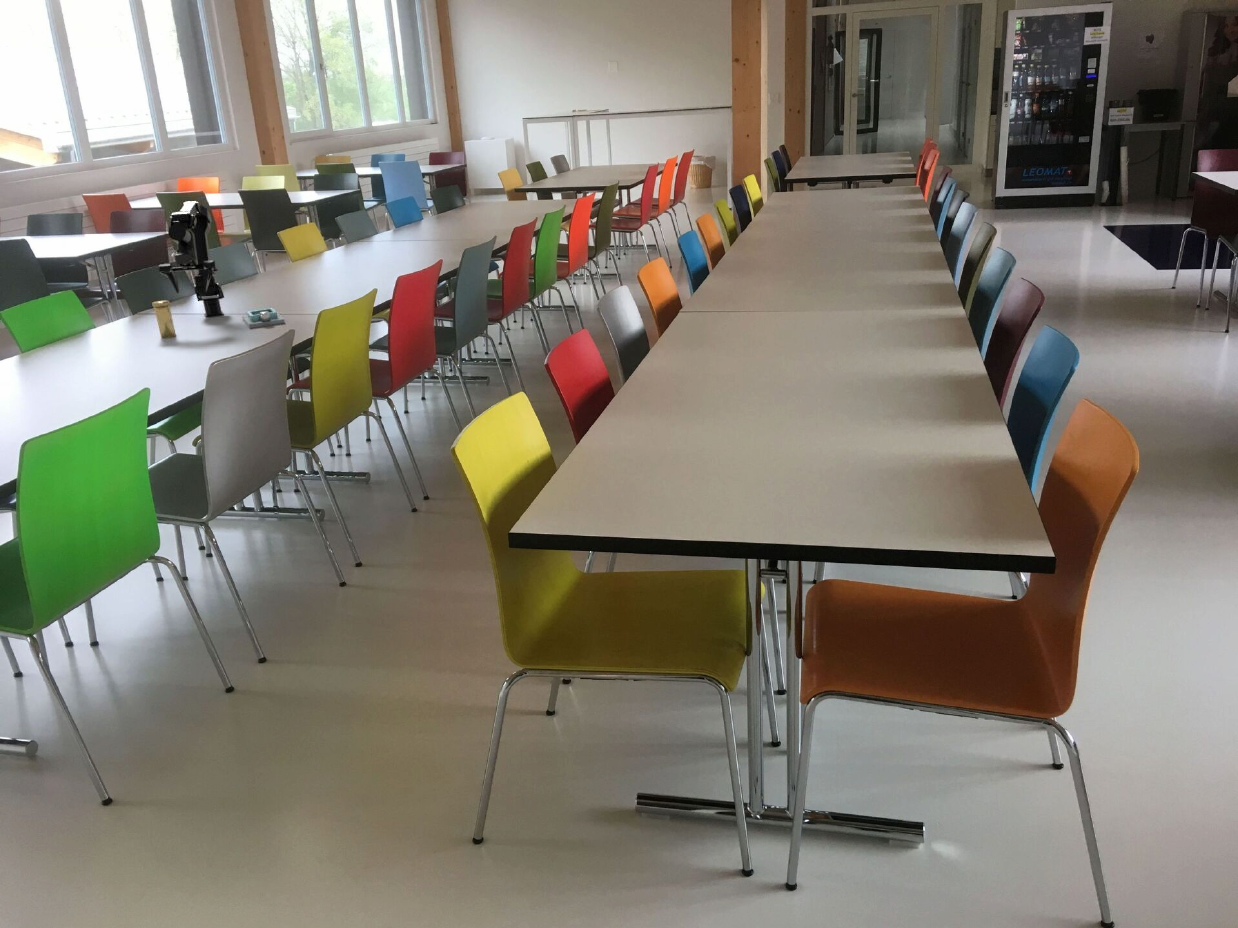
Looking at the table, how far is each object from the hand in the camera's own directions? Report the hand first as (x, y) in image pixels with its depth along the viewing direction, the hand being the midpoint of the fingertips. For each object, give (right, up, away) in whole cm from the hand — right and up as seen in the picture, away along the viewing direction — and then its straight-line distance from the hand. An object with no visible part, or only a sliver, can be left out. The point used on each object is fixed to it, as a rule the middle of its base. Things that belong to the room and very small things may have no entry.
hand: (191, 292), depth 336 cm
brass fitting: (-7, -16, -2) cm, 17 cm away
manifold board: (+21, -8, +12) cm, 25 cm away
